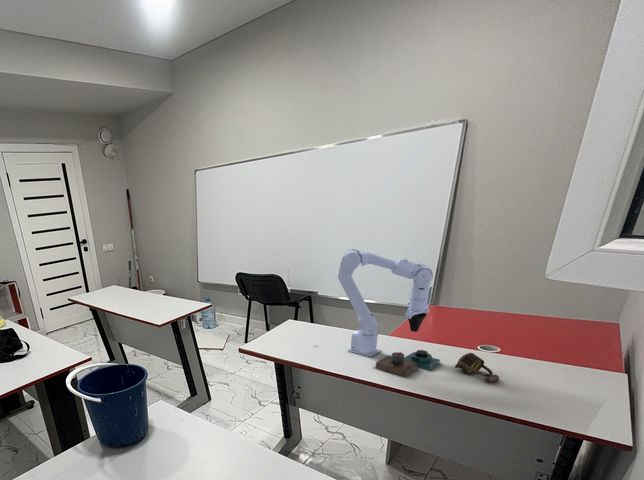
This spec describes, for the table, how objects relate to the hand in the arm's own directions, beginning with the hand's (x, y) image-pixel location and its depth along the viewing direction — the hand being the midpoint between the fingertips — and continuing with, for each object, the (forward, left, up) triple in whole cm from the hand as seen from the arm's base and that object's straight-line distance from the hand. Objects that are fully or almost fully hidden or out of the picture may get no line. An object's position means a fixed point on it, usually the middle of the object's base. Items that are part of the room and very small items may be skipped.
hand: (414, 331), depth 142 cm
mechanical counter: (+23, -4, -11) cm, 26 cm away
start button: (+6, -5, -7) cm, 11 cm away
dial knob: (+2, -16, -8) cm, 17 cm away
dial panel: (+2, -16, -10) cm, 19 cm away
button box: (+6, -6, -10) cm, 13 cm away
